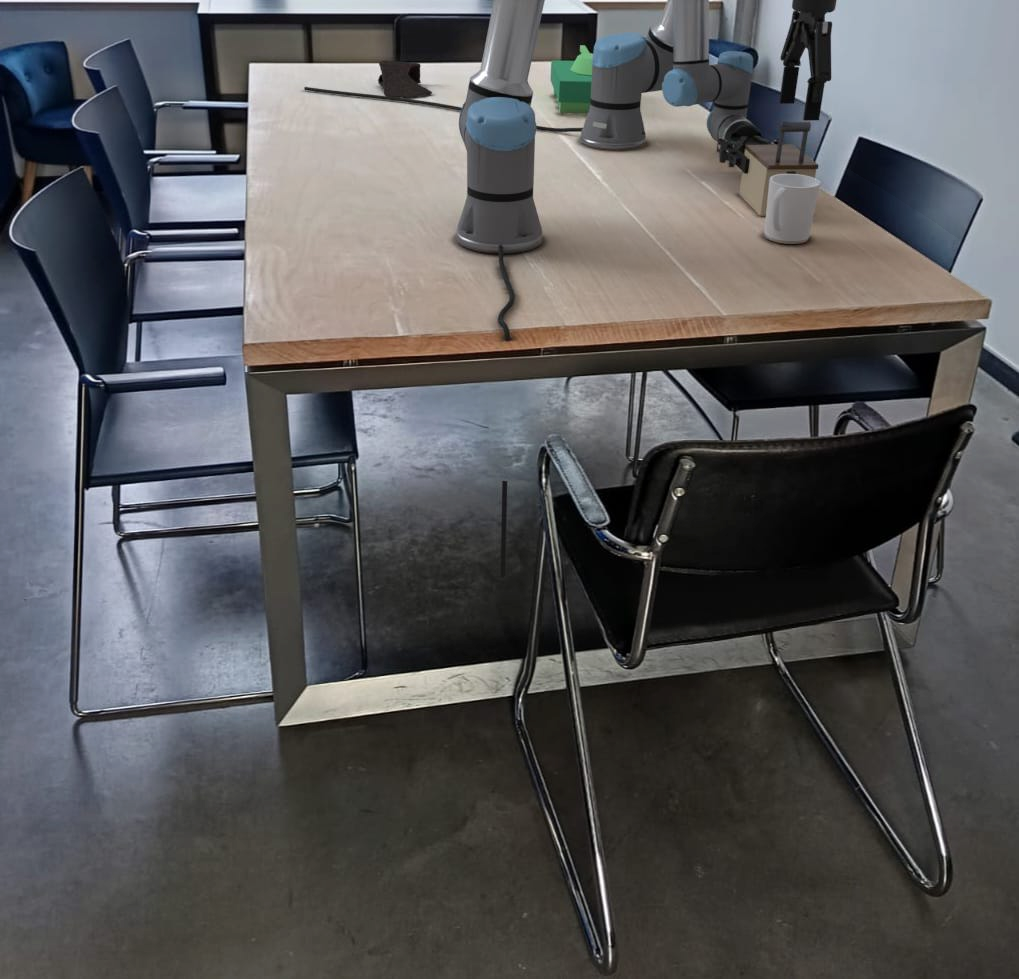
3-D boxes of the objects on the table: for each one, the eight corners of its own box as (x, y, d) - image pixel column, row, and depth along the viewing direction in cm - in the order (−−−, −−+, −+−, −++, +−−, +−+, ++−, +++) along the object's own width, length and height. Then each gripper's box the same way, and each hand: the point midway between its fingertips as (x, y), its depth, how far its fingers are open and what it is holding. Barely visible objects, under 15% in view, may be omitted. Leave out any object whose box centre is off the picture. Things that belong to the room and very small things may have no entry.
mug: (775, 225, 205) (784, 170, 200) (819, 236, 201) (829, 180, 195) (747, 240, 198) (754, 183, 193) (791, 251, 193) (801, 193, 188)
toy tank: (613, 42, 302) (631, 66, 272) (610, 88, 309) (627, 117, 279) (549, 40, 301) (560, 65, 272) (547, 87, 308) (558, 116, 278)
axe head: (443, 87, 294) (392, 77, 287) (436, 115, 299) (385, 106, 292) (421, 62, 307) (371, 52, 300) (414, 89, 311) (365, 80, 304)
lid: (818, 169, 207) (825, 125, 202) (768, 169, 206) (774, 125, 201) (792, 148, 219) (798, 106, 215) (745, 148, 218) (750, 107, 214)
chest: (808, 215, 212) (816, 168, 207) (760, 216, 211) (766, 168, 206) (785, 193, 224) (792, 148, 219) (739, 194, 223) (745, 149, 218)
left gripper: (864, -4, 182) (842, 127, 193) (812, -23, 203) (795, 96, 214) (820, -4, 181) (801, 127, 192) (773, -23, 202) (758, 96, 213)
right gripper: (788, 155, 239) (823, 184, 220) (688, 156, 237) (715, 185, 218) (793, 120, 235) (830, 146, 216) (691, 120, 233) (720, 147, 214)
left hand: (798, 111), depth 203 cm, fingers open, 13 cm apart
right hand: (772, 166), depth 217 cm, fingers closed on chest, 10 cm apart
